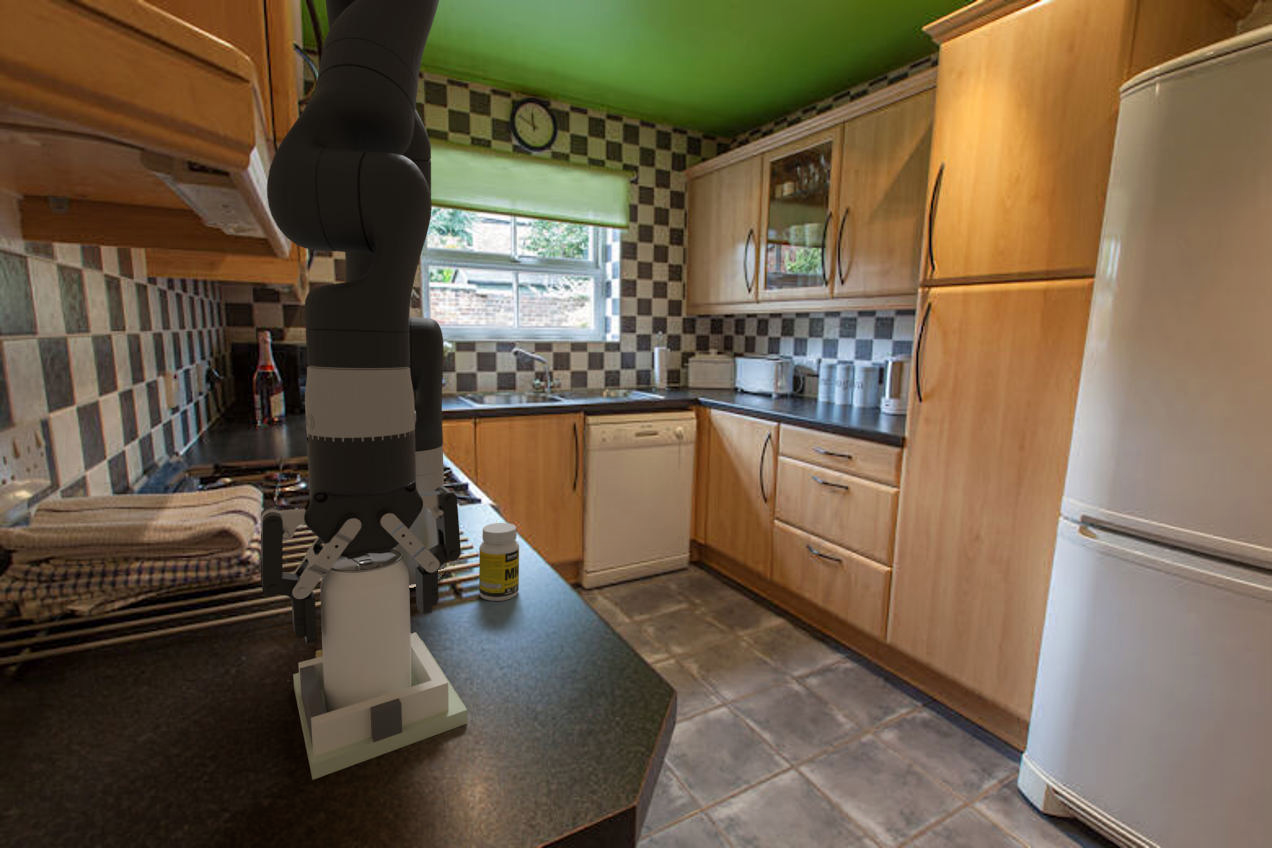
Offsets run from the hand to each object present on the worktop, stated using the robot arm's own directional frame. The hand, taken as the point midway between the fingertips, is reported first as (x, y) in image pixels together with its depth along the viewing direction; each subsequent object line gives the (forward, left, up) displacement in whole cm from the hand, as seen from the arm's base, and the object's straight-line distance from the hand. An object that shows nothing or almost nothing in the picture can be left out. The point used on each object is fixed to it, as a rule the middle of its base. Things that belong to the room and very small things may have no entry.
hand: (369, 624), depth 46 cm
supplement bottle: (-16, +17, -8) cm, 25 cm away
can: (0, 0, -7) cm, 7 cm away
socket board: (-1, 0, -8) cm, 8 cm away
